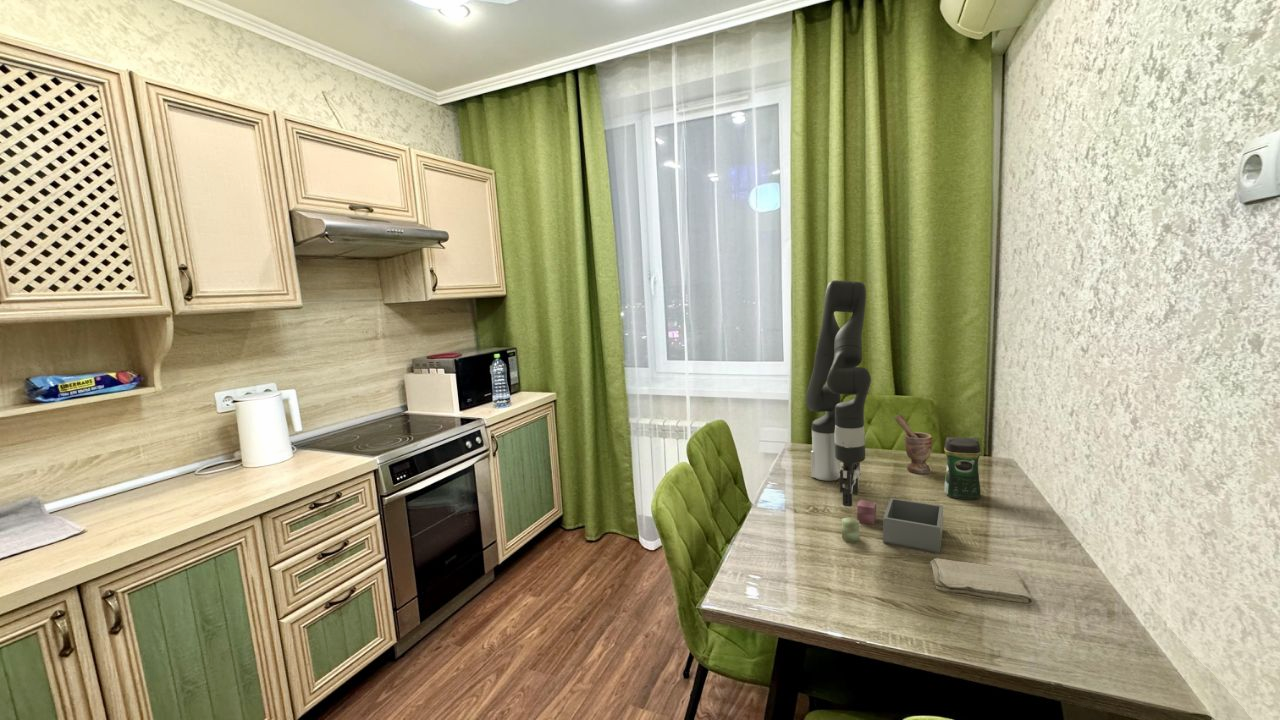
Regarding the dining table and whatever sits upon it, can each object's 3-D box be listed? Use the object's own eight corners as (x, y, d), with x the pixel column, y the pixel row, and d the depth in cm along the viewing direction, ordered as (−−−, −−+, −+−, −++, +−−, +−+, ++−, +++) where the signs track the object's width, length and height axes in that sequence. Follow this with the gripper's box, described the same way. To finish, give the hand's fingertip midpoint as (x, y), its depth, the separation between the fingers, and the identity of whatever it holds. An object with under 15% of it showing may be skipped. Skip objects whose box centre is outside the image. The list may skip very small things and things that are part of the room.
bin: (883, 542, 135) (883, 518, 134) (890, 520, 147) (890, 497, 146) (940, 553, 128) (940, 527, 127) (942, 529, 140) (943, 505, 139)
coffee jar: (977, 491, 161) (978, 435, 159) (982, 501, 154) (983, 442, 152) (942, 488, 165) (943, 433, 163) (945, 498, 158) (946, 440, 156)
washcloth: (928, 566, 124) (928, 554, 124) (1017, 577, 117) (1018, 565, 117) (935, 594, 113) (935, 581, 113) (1034, 608, 106) (1034, 595, 106)
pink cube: (857, 521, 148) (857, 505, 147) (860, 515, 151) (859, 499, 151) (873, 524, 145) (873, 508, 145) (876, 518, 149) (876, 502, 148)
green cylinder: (840, 540, 138) (840, 523, 137) (843, 533, 142) (843, 516, 141) (857, 543, 136) (857, 526, 135) (860, 536, 139) (860, 519, 139)
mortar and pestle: (896, 473, 180) (896, 418, 177) (893, 465, 188) (893, 412, 185) (933, 475, 176) (934, 419, 173) (929, 466, 184) (929, 413, 181)
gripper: (840, 433, 143) (841, 488, 145) (828, 448, 131) (830, 507, 133) (869, 435, 139) (870, 492, 141) (860, 451, 127) (861, 512, 129)
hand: (850, 499), depth 137 cm, fingers open, 8 cm apart
